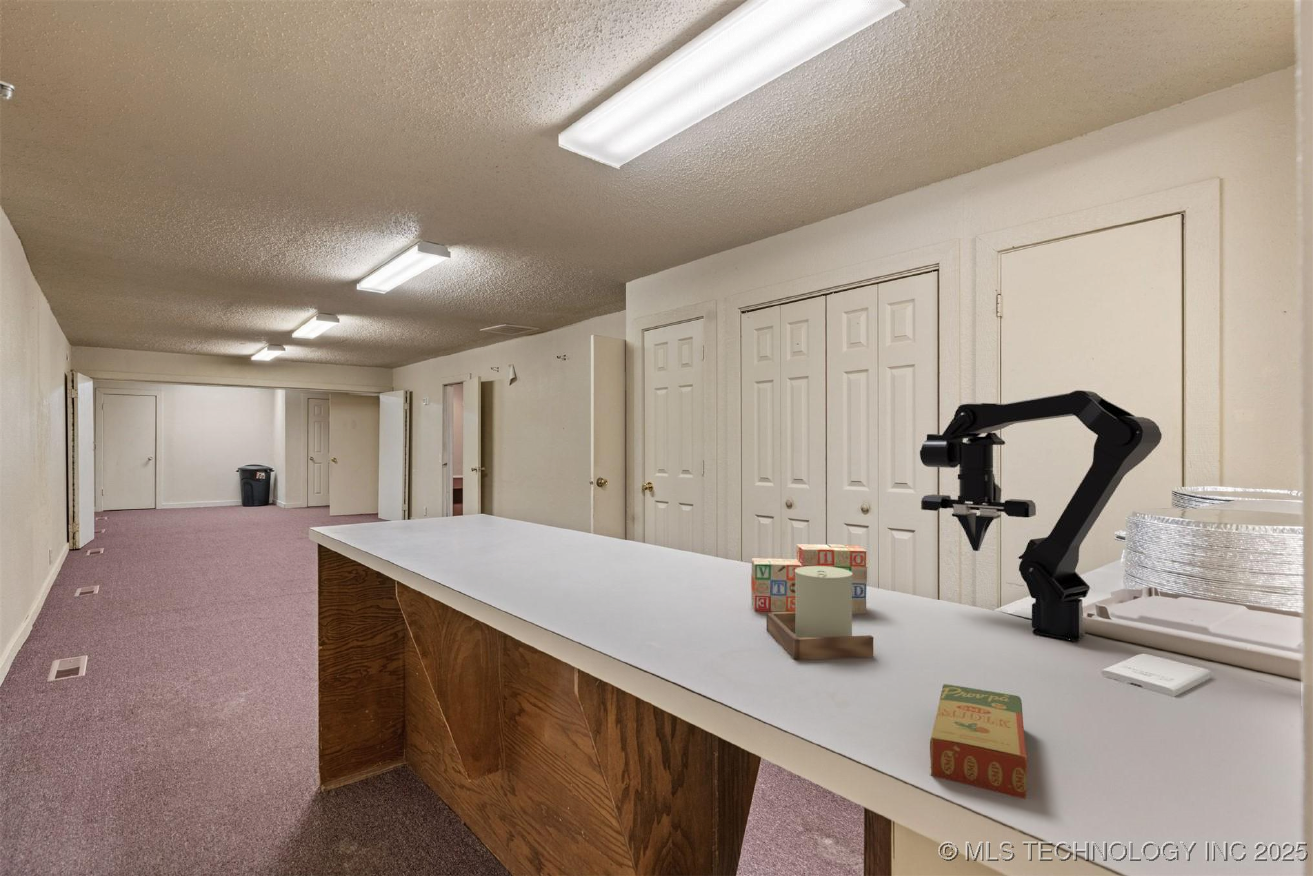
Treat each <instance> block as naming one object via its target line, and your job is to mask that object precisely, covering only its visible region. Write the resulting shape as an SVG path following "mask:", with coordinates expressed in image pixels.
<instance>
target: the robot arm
mask: <svg viewBox="0 0 1313 876" xmlns="http://www.w3.org/2000/svg"><path fill="white" fill-rule="evenodd" d="M1073 416H1074V417H1075V418H1077V419H1078V420H1079V421H1080V422H1081V423H1082V424H1083V425H1084V426H1085V428H1087V429H1088V430H1090V431H1091V432H1092V433H1094V434H1095V435H1096V439H1095V442H1094V444H1093V453H1092V463H1091V465H1090V467H1089V468H1088V470H1087V472H1086V473H1085V475H1084V477H1083V479H1082V480H1081V482H1080V483H1079V485H1078V486H1077V488H1076V490H1075V492H1074V493H1073V495H1072V496H1071V499H1070V500H1069V501H1068V504H1067V505H1066V507H1065V508H1064V510H1063V511H1062V513H1061V515H1060V517H1059V518H1058V520H1057V522H1056V523H1055V525H1054V526H1053V528H1052V530H1051V531H1050V533H1049V534H1048V535H1047V536H1046V537H1039V538H1031V539H1029V541H1028V542H1027V545H1026V546H1025V547H1026V548H1025V549H1024V551H1023V552H1022V554H1021V555H1020V556H1018V557H1017V558H1018V559H1019V560H1021V561H1020V563H1019V565H1018V572H1020V576H1021V578H1022V579H1023V581H1024V583H1026V586H1027V589H1028V592H1029V595H1030V597H1031V599H1033V600H1034V602H1033V603H1032V604H1031V627H1032V634H1034V635H1039V636H1043V635H1046V636H1045V637H1049V636H1050V638H1054V637H1057V638H1056V639H1059V638H1062V639H1061V640H1064V639H1070V640H1074V641H1073V642H1075V641H1079V642H1080V641H1081V639H1082V638H1083V637H1084V636H1085V634H1086V631H1085V630H1083V599H1084V598H1087V596H1088V594H1089V591H1090V589H1091V587H1090V585H1089V584H1088V583H1087V582H1086V581H1085V580H1084V579H1083V578H1082V577H1081V575H1080V574H1079V573H1077V572H1076V570H1077V567H1078V564H1079V559H1080V547H1081V545H1082V543H1083V542H1084V540H1085V538H1086V537H1087V535H1088V534H1089V532H1090V530H1091V529H1092V527H1093V526H1094V525H1095V523H1096V521H1097V519H1098V518H1099V516H1100V515H1101V513H1102V512H1103V510H1104V509H1105V507H1106V505H1107V504H1108V502H1109V501H1110V499H1111V497H1112V496H1113V495H1114V493H1115V491H1116V490H1117V488H1118V487H1119V485H1120V483H1121V482H1122V481H1123V478H1124V477H1125V476H1127V474H1128V473H1129V472H1130V471H1131V470H1133V469H1134V468H1136V467H1137V466H1138V465H1139V464H1141V463H1142V462H1143V461H1145V460H1146V459H1147V457H1148V456H1149V455H1150V454H1151V453H1152V452H1153V451H1154V450H1155V449H1156V448H1157V446H1158V445H1159V444H1160V442H1161V440H1162V437H1163V435H1162V431H1161V429H1160V427H1159V426H1158V424H1157V423H1156V422H1155V421H1153V420H1152V419H1150V418H1149V417H1148V418H1147V417H1144V416H1136V415H1134V414H1132V413H1131V412H1130V411H1128V410H1125V409H1124V408H1122V407H1120V406H1118V405H1116V404H1114V403H1112V402H1111V401H1108V400H1107V399H1105V398H1103V397H1101V396H1100V395H1099V394H1098V393H1097V392H1095V391H1090V390H1083V389H1082V390H1081V389H1080V390H1073V391H1071V392H1067V393H1061V394H1056V395H1055V394H1054V395H1049V396H1043V397H1037V398H1030V399H1025V400H1018V401H1012V402H1006V403H1005V402H1004V403H996V402H995V403H993V402H990V403H987V402H983V403H982V402H964V403H962V404H960V405H959V406H957V409H956V410H955V412H954V415H953V418H952V419H951V421H950V422H949V424H948V425H947V427H946V428H945V430H944V431H943V433H942V434H938V433H927V434H926V440H924V441H923V443H922V445H921V448H920V450H919V458H920V461H921V463H922V464H923V465H924V466H925V467H927V468H944V469H945V468H946V469H947V468H948V469H955V468H957V467H958V466H959V469H958V470H959V473H958V474H957V480H959V482H958V483H959V489H958V490H959V493H958V494H959V495H957V499H954V498H953V499H952V498H951V495H950V494H949V495H948V494H928V495H926V494H925V495H923V497H922V498H921V501H920V502H921V503H920V504H921V506H920V509H921V510H922V511H935V512H937V511H939V510H940V509H945V510H947V509H953V510H952V511H953V513H951V517H955V518H957V521H958V522H959V524H960V525H961V528H962V529H963V530H964V533H965V535H966V537H967V540H968V542H969V544H970V546H971V548H972V551H975V552H979V551H980V550H981V547H982V544H983V542H984V540H985V536H986V534H987V531H988V529H989V527H990V525H991V524H992V522H993V521H994V520H996V519H999V518H1001V516H1002V514H1000V513H1004V514H1005V515H1007V516H1008V517H1013V518H1032V517H1034V516H1036V515H1037V514H1036V513H1037V510H1036V509H1037V508H1036V503H1035V502H1034V501H1033V500H1032V499H1020V498H1019V499H1018V498H1017V499H1016V498H1011V499H1009V498H1008V499H1005V500H1004V501H1003V502H1002V501H1001V499H1002V498H1001V497H1002V488H1001V487H1000V486H999V485H998V484H996V483H997V482H996V479H995V478H996V477H995V473H994V446H1004V445H1005V444H1006V442H1005V440H1003V439H1002V438H1000V436H999V435H998V434H997V433H996V432H997V431H998V430H1002V429H1005V428H1007V427H1009V426H1011V425H1014V424H1020V423H1021V424H1022V423H1027V422H1036V421H1042V420H1043V421H1044V420H1050V419H1057V418H1058V419H1059V418H1065V417H1066V418H1067V417H1073ZM982 434H985V435H984V436H981V435H982ZM965 439H967V440H966V441H965V442H964V440H965ZM973 511H979V514H977V512H973ZM1082 598H1083V599H1082ZM1081 637H1082V638H1081ZM1080 638H1081V639H1080ZM1070 640H1069V641H1070Z"/></svg>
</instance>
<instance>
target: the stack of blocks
mask: <svg viewBox="0 0 1313 876" xmlns="http://www.w3.org/2000/svg"><path fill="white" fill-rule="evenodd" d="M795 549H796V550H795V552H796V553H795V554H796V555H795V558H765V557H764V558H761V557H760V558H759V557H757V558H756V557H755V558H754V557H752V558H751V571H750V572H751V573H750V574H751V579H750V582H751V583H750V585H751V586H750V588H751V592H750V593H751V595H750V596H751V598H750V599H751V601H750V602H751V605H752V608H753V610H754V611H755V612H795V569H797V568H799V567H805V566H828V567H836V568H842V569H846V570H849V571H851V572H852V573H853V576H852V613H866V614H867V583H868V566H867V550H865V549H864V548H863V547H861V546H859V545H846V544H845V545H844V544H839V543H836V544H834V543H833V544H832V543H830V544H829V543H828V544H813V543H812V544H810V543H809V544H807V543H806V544H805V543H804V544H803V543H802V544H801V543H797V544H796V547H795Z"/></svg>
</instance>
